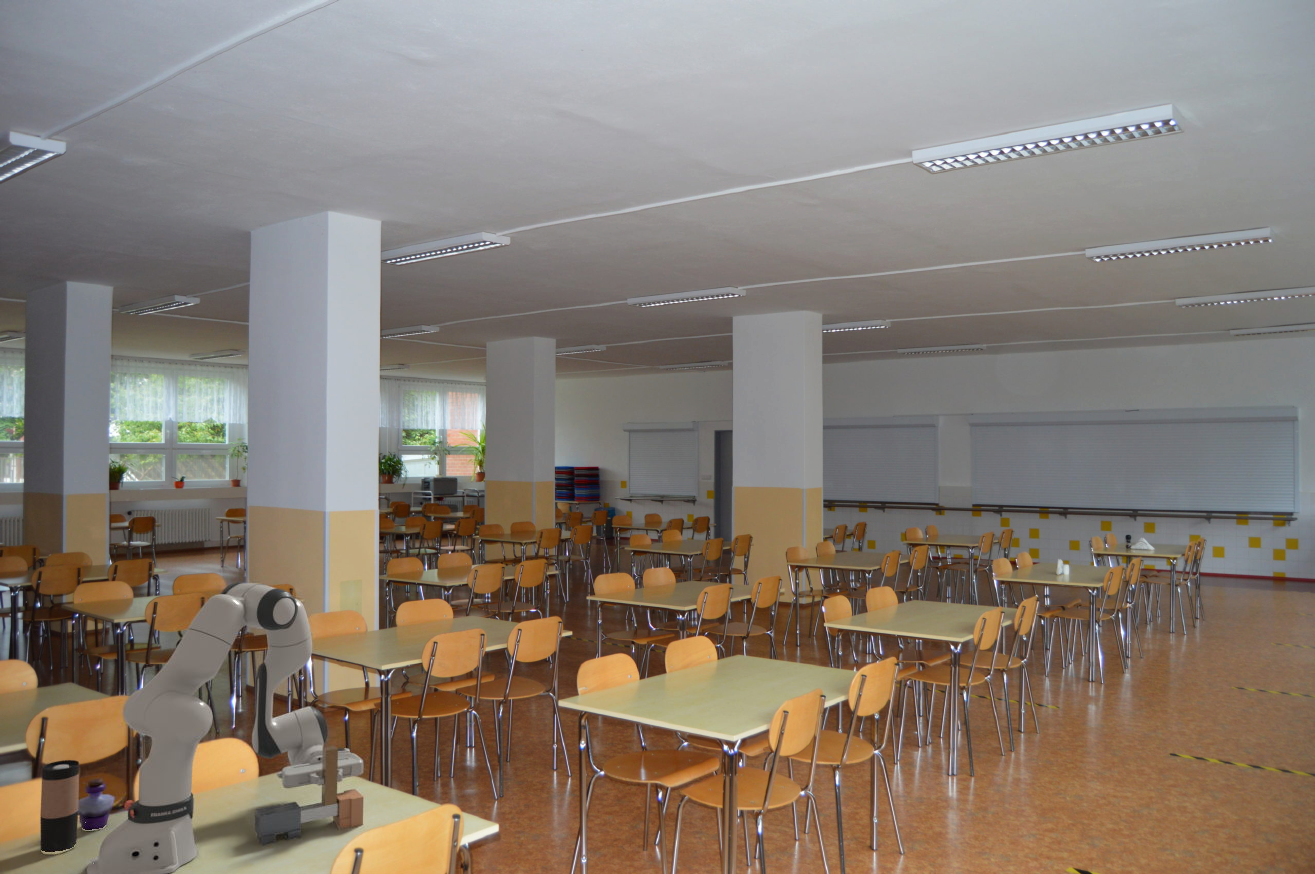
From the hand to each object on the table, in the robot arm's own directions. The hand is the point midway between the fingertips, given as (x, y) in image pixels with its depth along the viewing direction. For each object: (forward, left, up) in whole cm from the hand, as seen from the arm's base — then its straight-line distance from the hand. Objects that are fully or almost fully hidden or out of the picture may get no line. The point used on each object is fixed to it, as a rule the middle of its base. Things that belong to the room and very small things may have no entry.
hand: (330, 780), depth 235 cm
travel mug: (-57, +23, -12) cm, 63 cm away
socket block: (+5, +1, -12) cm, 13 cm away
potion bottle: (-49, +33, -12) cm, 61 cm away
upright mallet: (-3, +1, -9) cm, 10 cm away
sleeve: (-12, +1, -12) cm, 17 cm away
